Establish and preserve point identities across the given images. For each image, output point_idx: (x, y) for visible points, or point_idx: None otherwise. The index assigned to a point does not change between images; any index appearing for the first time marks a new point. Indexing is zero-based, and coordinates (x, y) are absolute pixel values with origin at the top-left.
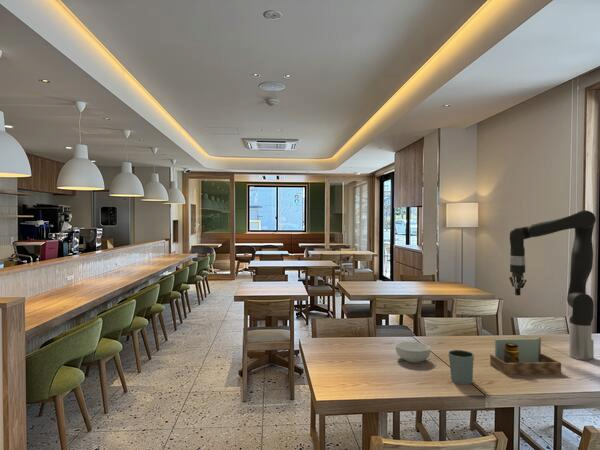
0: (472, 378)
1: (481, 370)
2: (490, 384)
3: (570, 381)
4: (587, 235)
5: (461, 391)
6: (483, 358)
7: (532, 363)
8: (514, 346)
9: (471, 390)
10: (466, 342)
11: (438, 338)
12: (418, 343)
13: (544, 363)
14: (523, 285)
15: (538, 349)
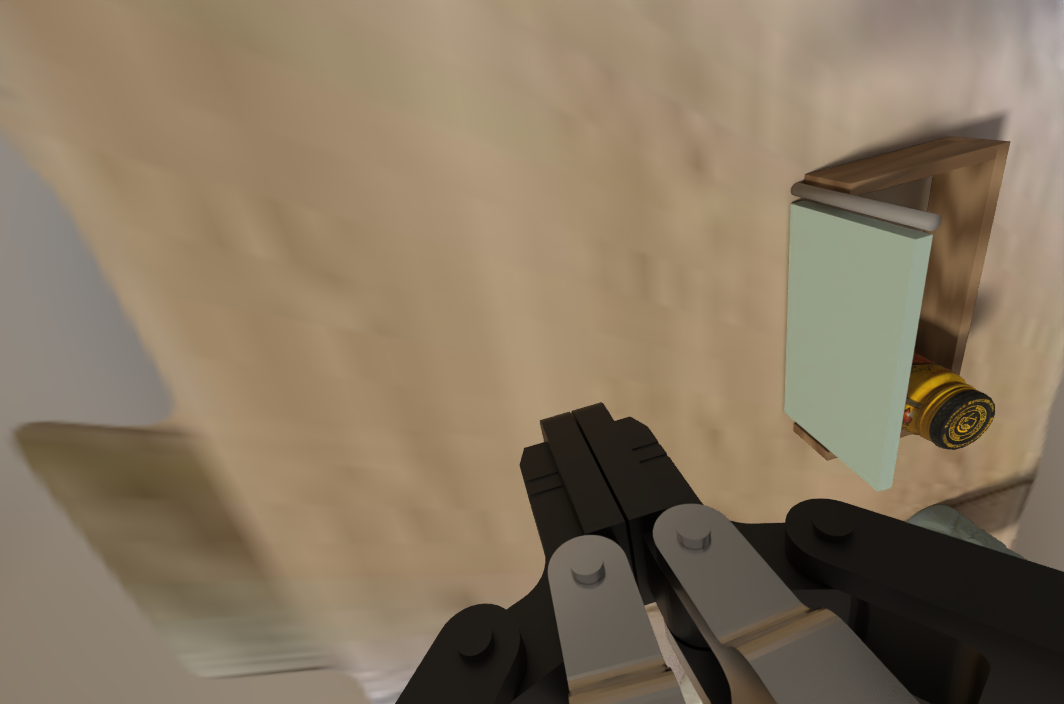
0: (955, 513)
1: (847, 468)
2: (970, 457)
3: (1035, 138)
4: None
5: (992, 532)
6: (704, 445)
7: (974, 304)
8: (991, 413)
9: (994, 509)
10: (416, 495)
11: (368, 614)
12: (701, 701)
13: (986, 241)
14: (985, 572)
15: (859, 212)
